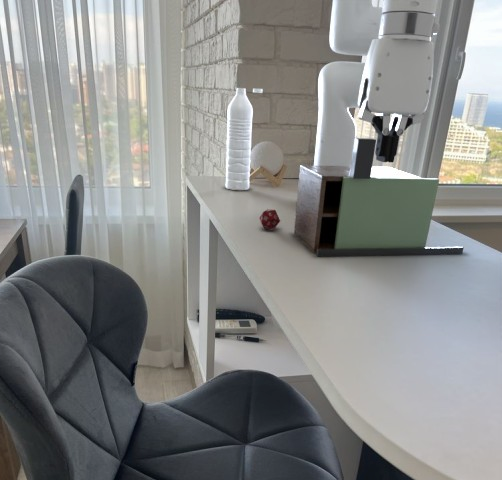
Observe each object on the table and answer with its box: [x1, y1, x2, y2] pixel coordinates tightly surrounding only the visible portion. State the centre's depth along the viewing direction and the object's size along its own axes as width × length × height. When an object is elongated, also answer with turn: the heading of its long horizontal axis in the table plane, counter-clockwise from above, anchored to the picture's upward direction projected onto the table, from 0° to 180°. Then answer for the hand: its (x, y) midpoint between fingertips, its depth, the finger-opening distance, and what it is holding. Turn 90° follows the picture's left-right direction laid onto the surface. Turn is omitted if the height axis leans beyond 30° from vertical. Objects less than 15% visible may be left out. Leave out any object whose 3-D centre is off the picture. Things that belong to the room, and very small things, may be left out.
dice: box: [259, 209, 281, 230], centre depth 100 cm, size 4×4×4 cm
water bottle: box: [225, 87, 264, 191], centre depth 134 cm, size 9×6×25 cm
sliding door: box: [334, 137, 440, 249], centre depth 85 cm, size 2×17×19 cm, turn 102°
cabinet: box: [293, 164, 465, 257], centre depth 92 cm, size 14×28×13 cm, turn 102°
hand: (384, 160), depth 82 cm, fingers closed
